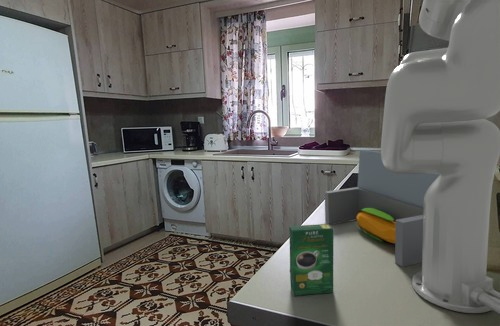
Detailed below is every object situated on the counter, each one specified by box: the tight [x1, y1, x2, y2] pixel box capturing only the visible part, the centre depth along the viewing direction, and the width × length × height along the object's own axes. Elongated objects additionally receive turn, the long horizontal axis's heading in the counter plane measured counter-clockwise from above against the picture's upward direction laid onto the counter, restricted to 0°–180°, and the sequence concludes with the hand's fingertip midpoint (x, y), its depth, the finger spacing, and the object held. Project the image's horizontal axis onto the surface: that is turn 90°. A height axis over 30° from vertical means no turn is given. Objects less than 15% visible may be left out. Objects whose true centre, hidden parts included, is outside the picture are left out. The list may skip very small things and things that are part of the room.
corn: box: [356, 208, 396, 245], centre depth 78 cm, size 7×8×20 cm
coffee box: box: [289, 223, 335, 297], centre depth 56 cm, size 8×3×13 cm, turn 93°
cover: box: [356, 149, 440, 207], centre depth 80 cm, size 31×12×1 cm
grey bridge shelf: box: [324, 186, 423, 268], centre depth 79 cm, size 31×12×10 cm, turn 17°
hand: (417, 175), depth 79 cm, fingers closed
